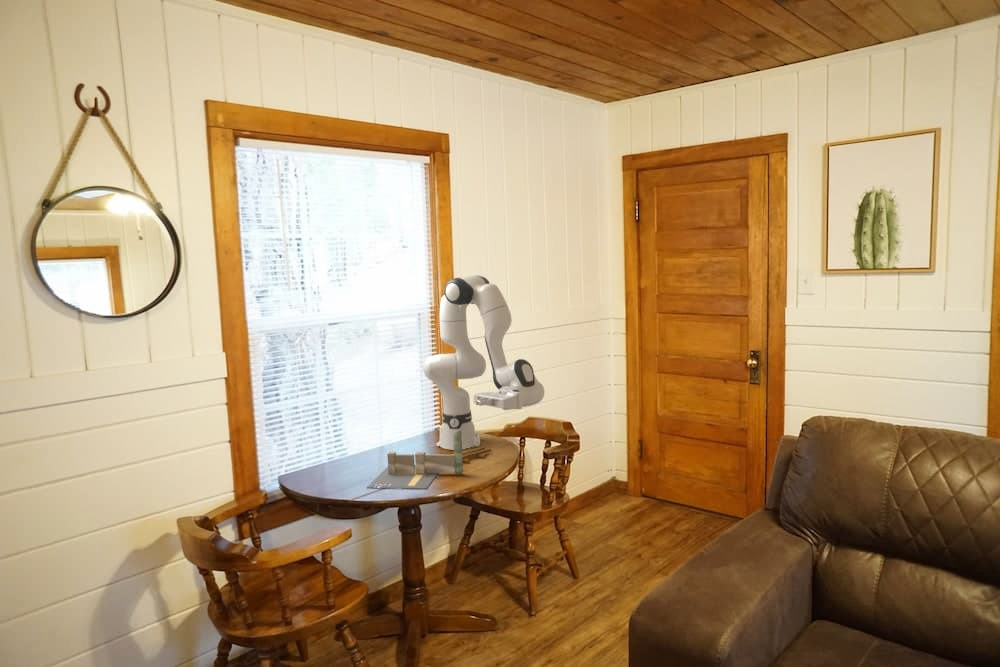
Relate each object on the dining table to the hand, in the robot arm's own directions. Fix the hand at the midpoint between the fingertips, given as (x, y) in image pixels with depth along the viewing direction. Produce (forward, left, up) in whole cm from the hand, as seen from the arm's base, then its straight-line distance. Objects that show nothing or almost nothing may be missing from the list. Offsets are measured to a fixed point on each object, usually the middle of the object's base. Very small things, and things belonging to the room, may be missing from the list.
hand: (477, 403), depth 242 cm
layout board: (+9, -25, -25) cm, 37 cm away
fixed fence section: (+6, -28, -24) cm, 38 cm away
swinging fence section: (+6, -14, -24) cm, 28 cm away
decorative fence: (-12, -9, -25) cm, 29 cm away
